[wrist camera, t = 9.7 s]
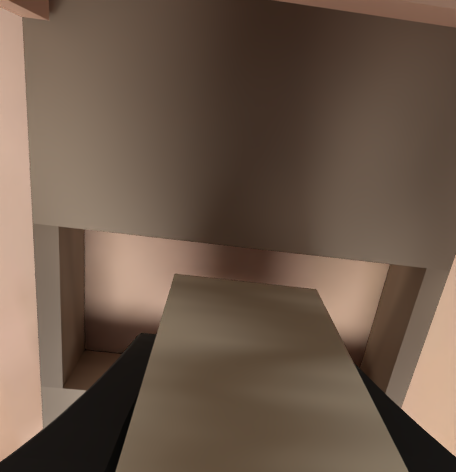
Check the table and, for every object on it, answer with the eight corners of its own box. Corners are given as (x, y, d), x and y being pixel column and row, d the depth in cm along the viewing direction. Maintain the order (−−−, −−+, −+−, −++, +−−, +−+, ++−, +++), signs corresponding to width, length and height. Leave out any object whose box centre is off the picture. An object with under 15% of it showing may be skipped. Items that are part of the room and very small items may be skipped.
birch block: (316, 289, 10) (426, 506, 5) (290, 401, 12) (352, 677, 6) (174, 273, 10) (112, 480, 5) (164, 389, 12) (106, 662, 6)
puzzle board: (566, -232, 9) (661, -326, 7) (349, 456, 16) (366, 504, 14) (50, -331, 8) (-2, -464, 6) (67, 433, 15) (45, 479, 13)
